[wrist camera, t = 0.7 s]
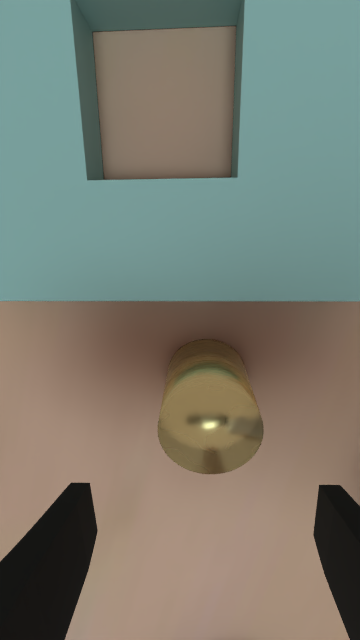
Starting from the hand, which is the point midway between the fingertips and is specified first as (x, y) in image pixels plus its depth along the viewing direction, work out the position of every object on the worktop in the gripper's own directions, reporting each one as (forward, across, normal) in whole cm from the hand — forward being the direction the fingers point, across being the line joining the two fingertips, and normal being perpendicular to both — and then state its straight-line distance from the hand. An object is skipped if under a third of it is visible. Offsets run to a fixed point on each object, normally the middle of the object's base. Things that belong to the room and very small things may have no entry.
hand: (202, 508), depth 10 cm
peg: (+8, 0, 0) cm, 8 cm away
